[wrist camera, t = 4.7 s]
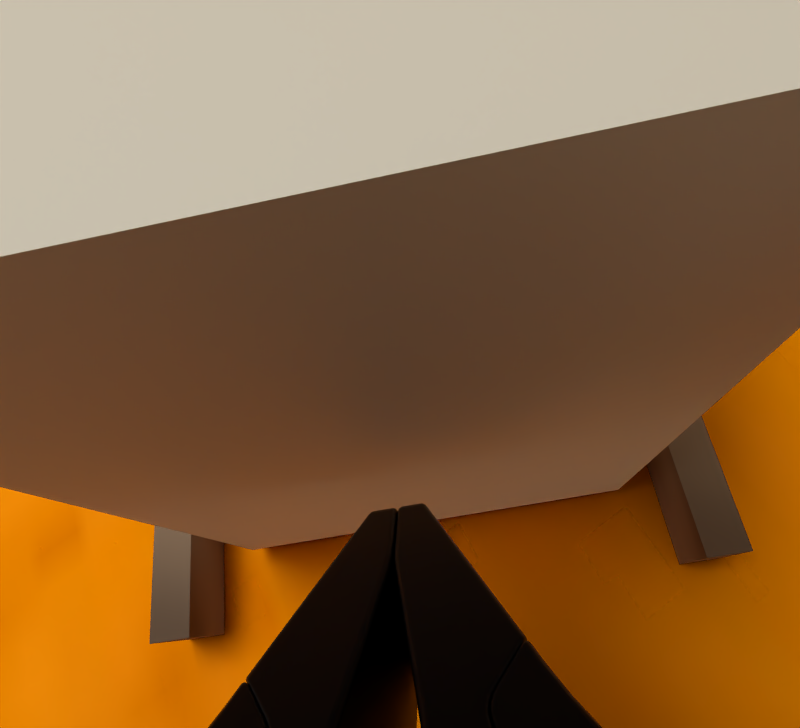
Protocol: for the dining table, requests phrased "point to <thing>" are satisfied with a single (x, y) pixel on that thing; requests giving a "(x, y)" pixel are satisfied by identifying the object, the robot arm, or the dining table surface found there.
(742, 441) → the dining table surface
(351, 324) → the cream crate
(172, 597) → the walnut bay
